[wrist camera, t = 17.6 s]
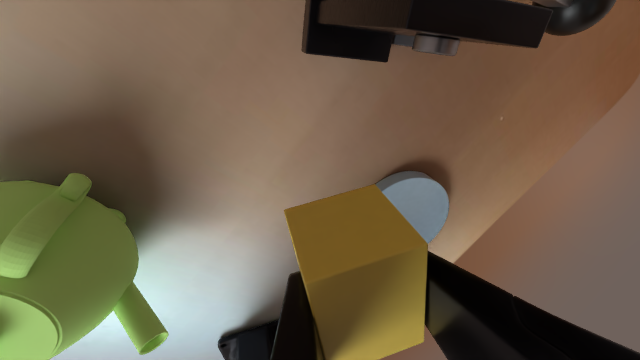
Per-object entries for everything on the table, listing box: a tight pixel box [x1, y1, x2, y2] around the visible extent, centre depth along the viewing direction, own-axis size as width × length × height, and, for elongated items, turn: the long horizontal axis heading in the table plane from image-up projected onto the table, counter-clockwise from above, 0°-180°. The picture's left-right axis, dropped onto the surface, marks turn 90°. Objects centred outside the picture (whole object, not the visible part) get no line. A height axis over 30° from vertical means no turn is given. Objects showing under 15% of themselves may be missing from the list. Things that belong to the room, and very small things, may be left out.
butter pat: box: [284, 184, 428, 360], centre depth 9 cm, size 4×3×3 cm
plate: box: [375, 171, 449, 244], centre depth 25 cm, size 8×8×1 cm
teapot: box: [0, 173, 168, 360], centre depth 15 cm, size 11×12×8 cm
